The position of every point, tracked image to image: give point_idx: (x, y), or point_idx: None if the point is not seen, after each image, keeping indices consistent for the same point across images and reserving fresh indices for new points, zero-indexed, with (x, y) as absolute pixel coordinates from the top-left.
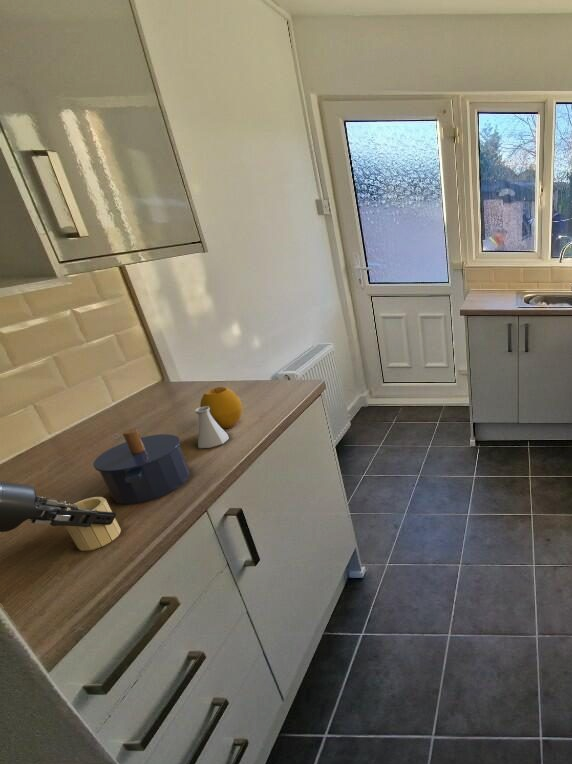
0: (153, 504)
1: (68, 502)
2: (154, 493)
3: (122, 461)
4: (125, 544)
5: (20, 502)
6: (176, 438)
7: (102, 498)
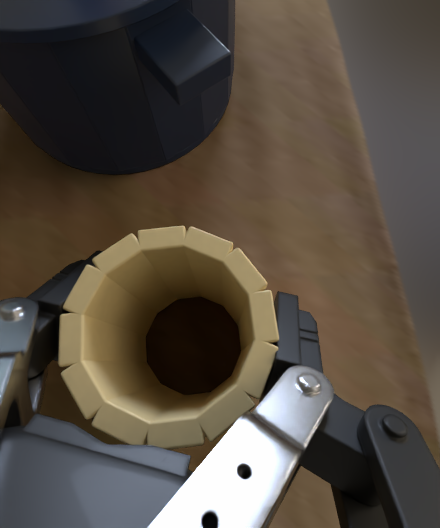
0: (222, 167)
1: (38, 307)
2: (204, 124)
3: None
4: (323, 363)
5: None
6: None
7: (207, 239)
